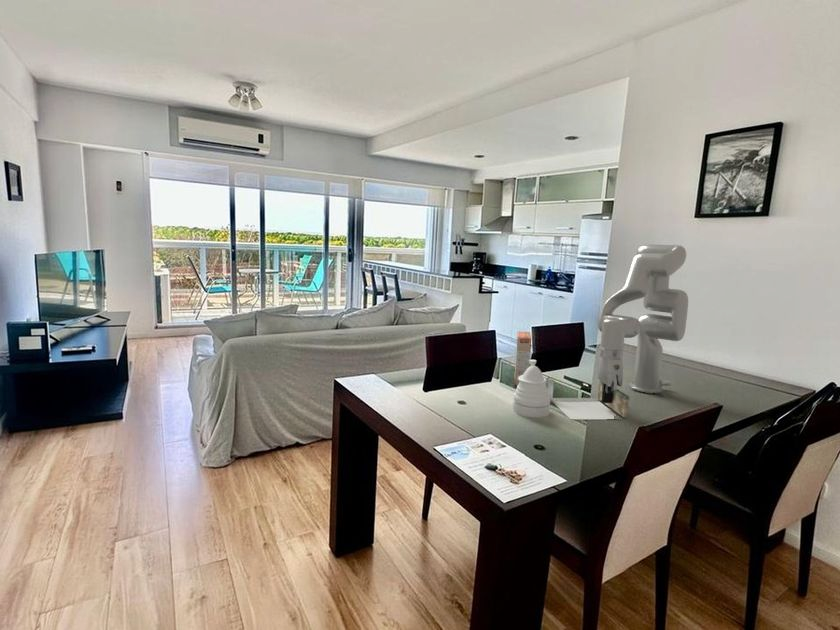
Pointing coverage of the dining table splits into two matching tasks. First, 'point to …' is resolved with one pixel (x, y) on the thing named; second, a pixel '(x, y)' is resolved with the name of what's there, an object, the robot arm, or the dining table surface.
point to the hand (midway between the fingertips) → (606, 402)
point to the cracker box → (522, 354)
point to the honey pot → (532, 393)
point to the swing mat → (585, 410)
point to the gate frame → (550, 390)
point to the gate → (616, 401)
